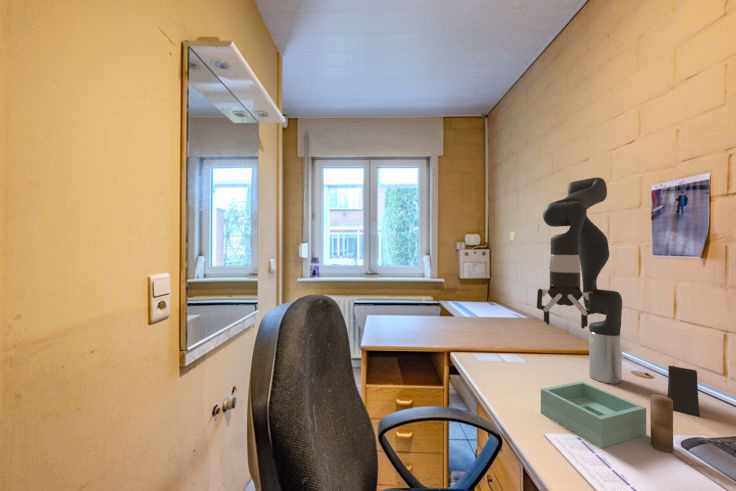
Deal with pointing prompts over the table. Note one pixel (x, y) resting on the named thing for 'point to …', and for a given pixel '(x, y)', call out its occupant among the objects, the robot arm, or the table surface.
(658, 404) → the walnut peg
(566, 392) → the bore box
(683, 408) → the phone stand
